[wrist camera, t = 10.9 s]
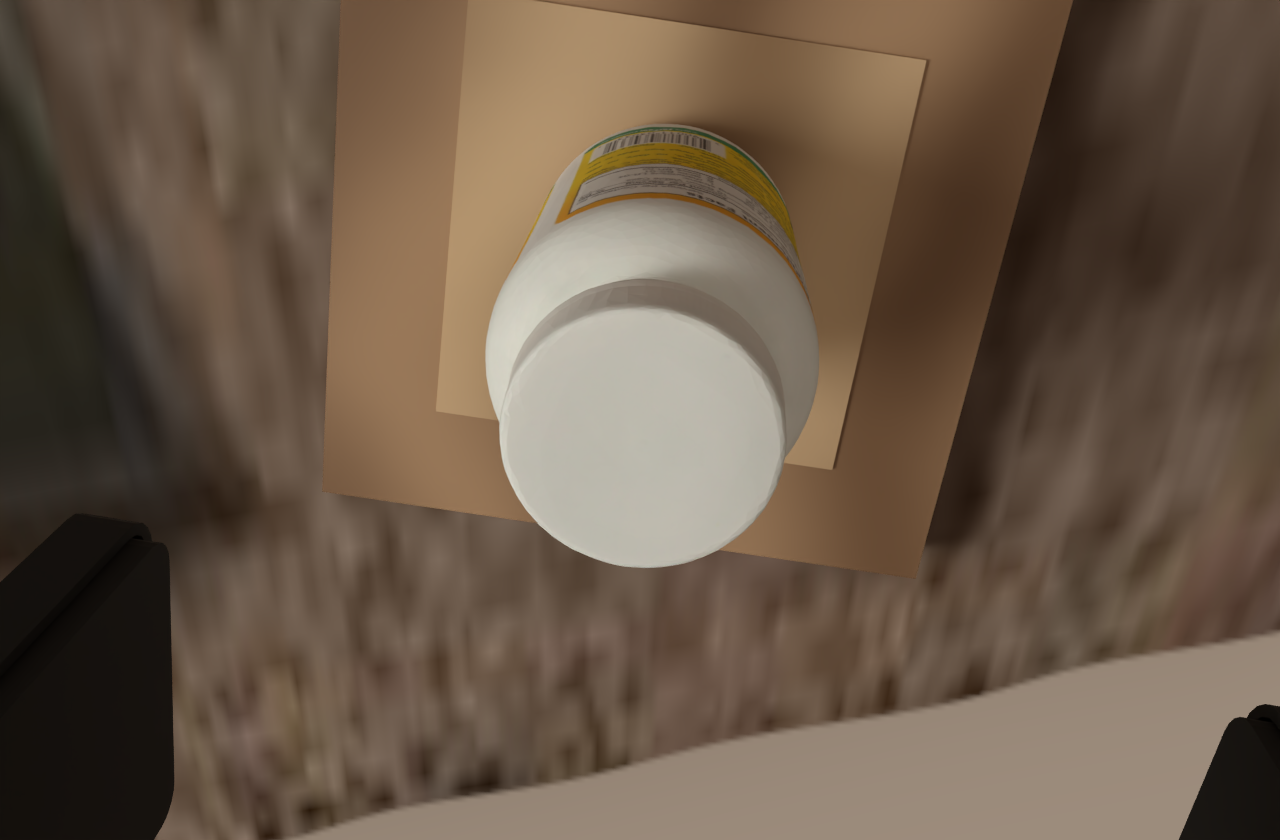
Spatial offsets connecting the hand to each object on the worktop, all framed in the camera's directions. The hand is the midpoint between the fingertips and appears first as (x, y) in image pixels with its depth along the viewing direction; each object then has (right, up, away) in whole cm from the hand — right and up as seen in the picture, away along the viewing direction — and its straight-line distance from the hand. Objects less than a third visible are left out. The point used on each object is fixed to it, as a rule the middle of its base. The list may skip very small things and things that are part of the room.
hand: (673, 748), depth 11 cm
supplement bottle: (0, +7, +15) cm, 16 cm away
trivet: (0, +7, +16) cm, 18 cm away
